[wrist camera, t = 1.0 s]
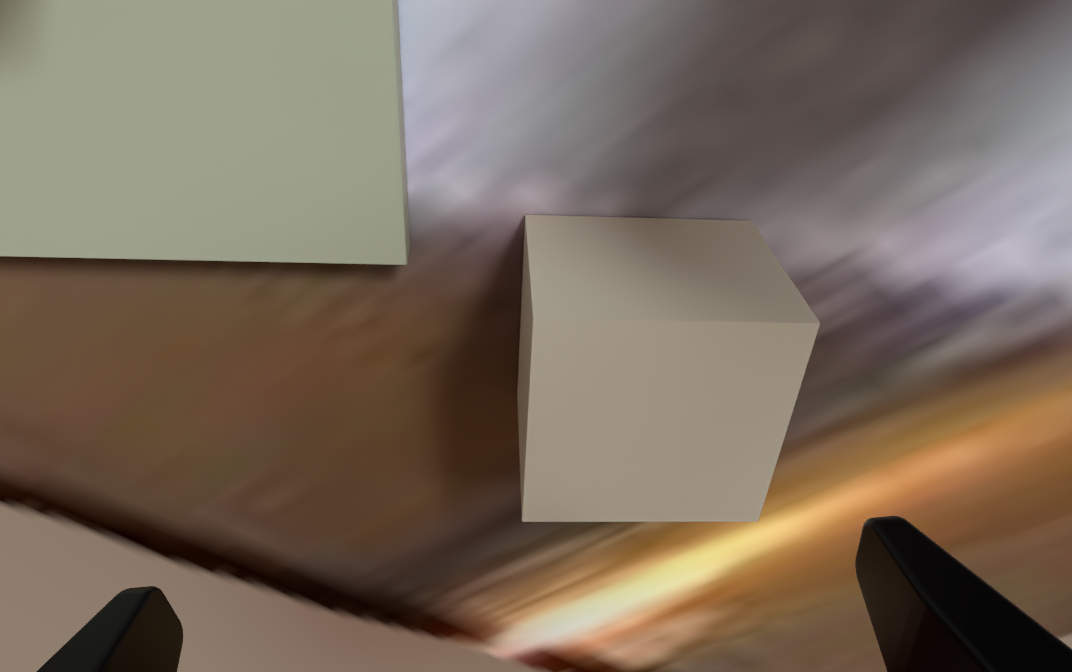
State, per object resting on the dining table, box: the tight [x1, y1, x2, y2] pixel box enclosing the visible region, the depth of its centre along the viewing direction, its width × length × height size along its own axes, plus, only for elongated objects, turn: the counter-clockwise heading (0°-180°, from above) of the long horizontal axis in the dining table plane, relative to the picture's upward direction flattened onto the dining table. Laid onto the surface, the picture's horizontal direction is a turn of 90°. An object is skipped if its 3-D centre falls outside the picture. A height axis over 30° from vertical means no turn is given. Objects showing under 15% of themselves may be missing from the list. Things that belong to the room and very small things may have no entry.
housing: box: [517, 215, 820, 522], centre depth 19 cm, size 6×6×5 cm
